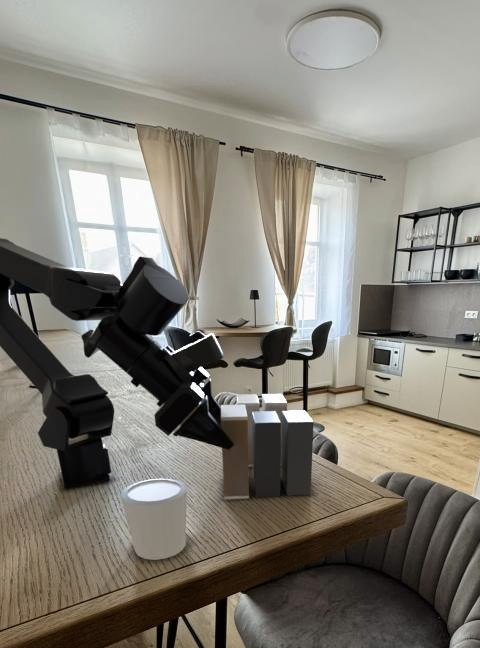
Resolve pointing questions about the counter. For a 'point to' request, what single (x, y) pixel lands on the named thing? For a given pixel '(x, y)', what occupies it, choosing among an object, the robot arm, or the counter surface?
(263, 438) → the tall grey rectangular block
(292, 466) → the grey book
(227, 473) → the tall cream square pillar
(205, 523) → the counter surface
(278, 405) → the white book
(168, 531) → the white cup
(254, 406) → the grey tall rectangular block
